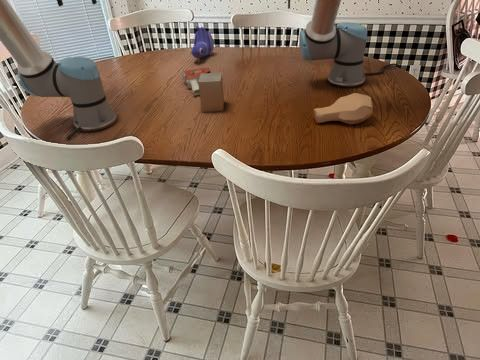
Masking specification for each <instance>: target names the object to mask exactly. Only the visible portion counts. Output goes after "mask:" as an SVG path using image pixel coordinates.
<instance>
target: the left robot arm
mask: <svg viewBox="0 0 480 360" xmlns="http://www.w3.org/2000/svg"><path fill="white" fill-rule="evenodd" d="M56 3H57V6H58V7H62V6H64V2H63V0H56ZM91 3H92V5H96V4H98V1H97V0H91ZM0 43H1V44H2V46H4V48H5V49H6V50H7V51H8V52H9V54H10V55H11V57H12V58H13V59H14V60H15V62H16V63H17V68H16V69H17V79H19V80H18V83H19V85H20V87H21V88H22V89H23V90H24V91H25V92H26V93H27V94H29V95H31V96H33V97H40V98H69V99H70V101H71V104H72V108H73V114H72V117H73V118H72V119H73V125H74V128H75V129H74V130H73V131H72V132H70V133H69V135H67V136H66V139H67V140H70V139H71V138H72V137H74V136H75V135H76V134H77V133H78V132H84V133H92V132H99V131H102V130H105V129H107V128H110V127H111V126H113V125H115V124H116V122H117V121H118V116H117V113H116V111H115V110H114V108H113V107H112V105H111V103H110V102H109V101H108V99H107V96H106V92H105V89H104V87H103V86H104V85H103V83H102V79H101V73H100V71H99V69H98V66H97V64H96V62H95V61H94V60H93V59H91V58H88V57H86V56H85V57H84V56H68V57H65V58H61V59H60V60H59V61H58V62H56V60H54V58H53V57H52V55H51V54H50V52H47V51H44V50H42V48H41V47H40V45H39V44H38V43H37V41H36V40H35V38H34V37H33V35H32V34H31V32H30V31H29V30H28V28H27V27H26V25H25V24H24V23H23V21H22V20H21V18H20V17H19V15H18V14H17V12H16V11H15V10H14V8H13V7H12V5H11V4H10V3H9V1H8V0H0Z"/></svg>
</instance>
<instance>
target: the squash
mask: <svg viewBox="0 0 480 360" xmlns="http://www.w3.org/2000/svg"><path fill="white" fill-rule="evenodd" d="M373 111H374V104H373V100H372V97H371V96H369V95H366V94H364V93H363V94H362V93H357V92H353V93H351V94H348V95H345V96H341V97H338V99H337V100H335V102H334V103H332V104H331V105H330V106H325V107H316V108H314V109H313V116H314V118H315V122H316V123H317V124H320V123H325V122H332V121H336V122H339V121H340V122H341V123H343V124H344V123H345V124H347V125H356V124H361V123H363V122H365V121H367V120H368V119H370V118H371V116H372V115H373Z"/></svg>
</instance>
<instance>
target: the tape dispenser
mask: <svg viewBox="0 0 480 360" xmlns="http://www.w3.org/2000/svg"><path fill="white" fill-rule="evenodd" d="M197 71H200V72H197ZM195 72H196V73H195ZM180 73H181V78H182V81H184V84H186V87H188V89H191V90H192V95H193V96H200V93H199V85H198V81H199V77H200V74H205V73H212V72H211V69H210V68H209V67H208V66H207V67H201V68H194V69H188V70H181V72H180Z"/></svg>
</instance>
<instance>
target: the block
mask: <svg viewBox="0 0 480 360" xmlns="http://www.w3.org/2000/svg"><path fill="white" fill-rule="evenodd" d="M198 85H199V93H200V94H199V101H200V108H201V109H200V110H201V113H211V112H212V113H214V112H215V113H216V112H224V106H225V95H224V94H225V93H224V82H223V72H211V73H205V74H200V77H199V81H198Z"/></svg>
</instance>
